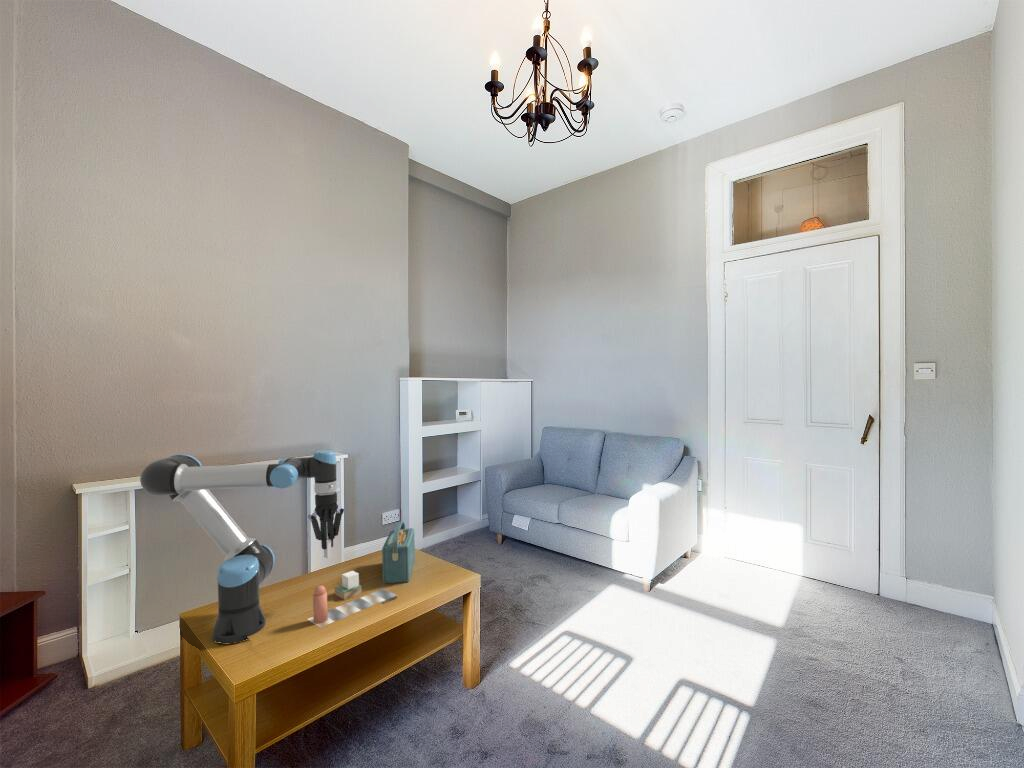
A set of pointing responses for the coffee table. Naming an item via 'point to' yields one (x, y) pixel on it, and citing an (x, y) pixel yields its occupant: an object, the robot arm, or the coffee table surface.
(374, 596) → the board
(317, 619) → the pink rounded cylinder
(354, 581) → the white cube
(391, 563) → the radio
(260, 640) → the coffee table surface
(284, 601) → the coffee table surface
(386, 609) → the coffee table surface
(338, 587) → the stand
